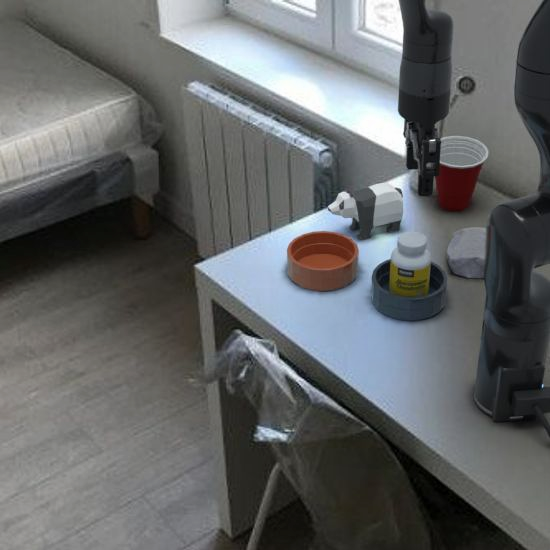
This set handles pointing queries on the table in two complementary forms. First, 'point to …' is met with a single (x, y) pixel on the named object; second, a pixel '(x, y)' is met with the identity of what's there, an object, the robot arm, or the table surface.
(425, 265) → the pill bottle
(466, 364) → the table surface
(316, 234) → the terracotta bowl
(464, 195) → the plastic cup
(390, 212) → the giant panda
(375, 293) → the metal bowl
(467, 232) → the stone block
